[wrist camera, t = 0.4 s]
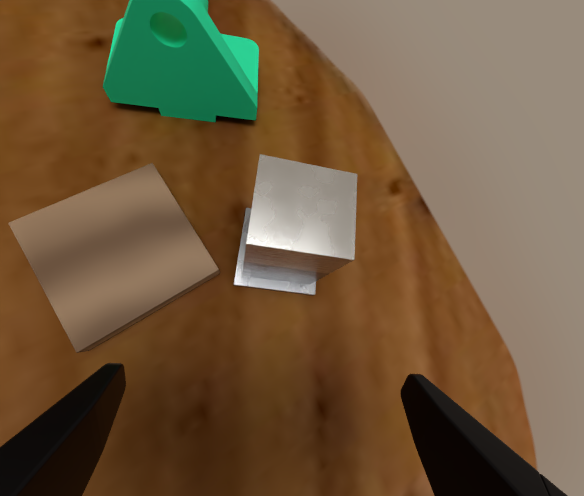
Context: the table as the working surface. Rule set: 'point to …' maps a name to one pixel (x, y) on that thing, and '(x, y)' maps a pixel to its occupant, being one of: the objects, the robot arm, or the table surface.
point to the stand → (113, 255)
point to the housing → (296, 226)
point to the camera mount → (181, 63)
